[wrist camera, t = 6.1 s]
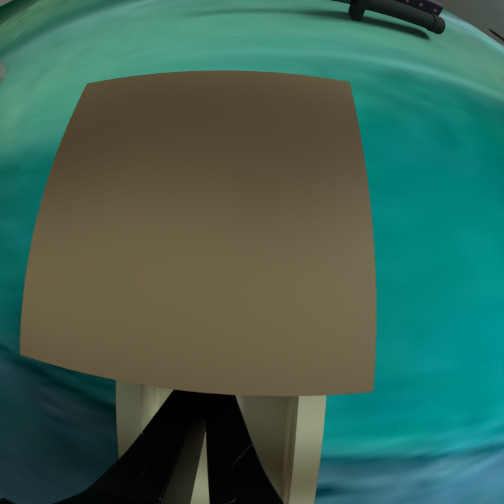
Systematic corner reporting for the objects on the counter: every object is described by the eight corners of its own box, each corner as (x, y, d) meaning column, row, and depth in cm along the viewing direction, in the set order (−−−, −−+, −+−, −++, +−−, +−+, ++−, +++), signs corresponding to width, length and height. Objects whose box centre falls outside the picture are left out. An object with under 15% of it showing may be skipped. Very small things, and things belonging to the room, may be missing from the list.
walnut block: (283, 349, 15) (373, 391, 4) (165, 342, 14) (19, 354, 4) (286, 235, 16) (349, 81, 5) (175, 230, 16) (86, 83, 5)
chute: (297, 535, 12) (307, 569, 9) (146, 523, 12) (128, 554, 8) (316, 206, 18) (333, 174, 14) (154, 199, 18) (134, 167, 14)
